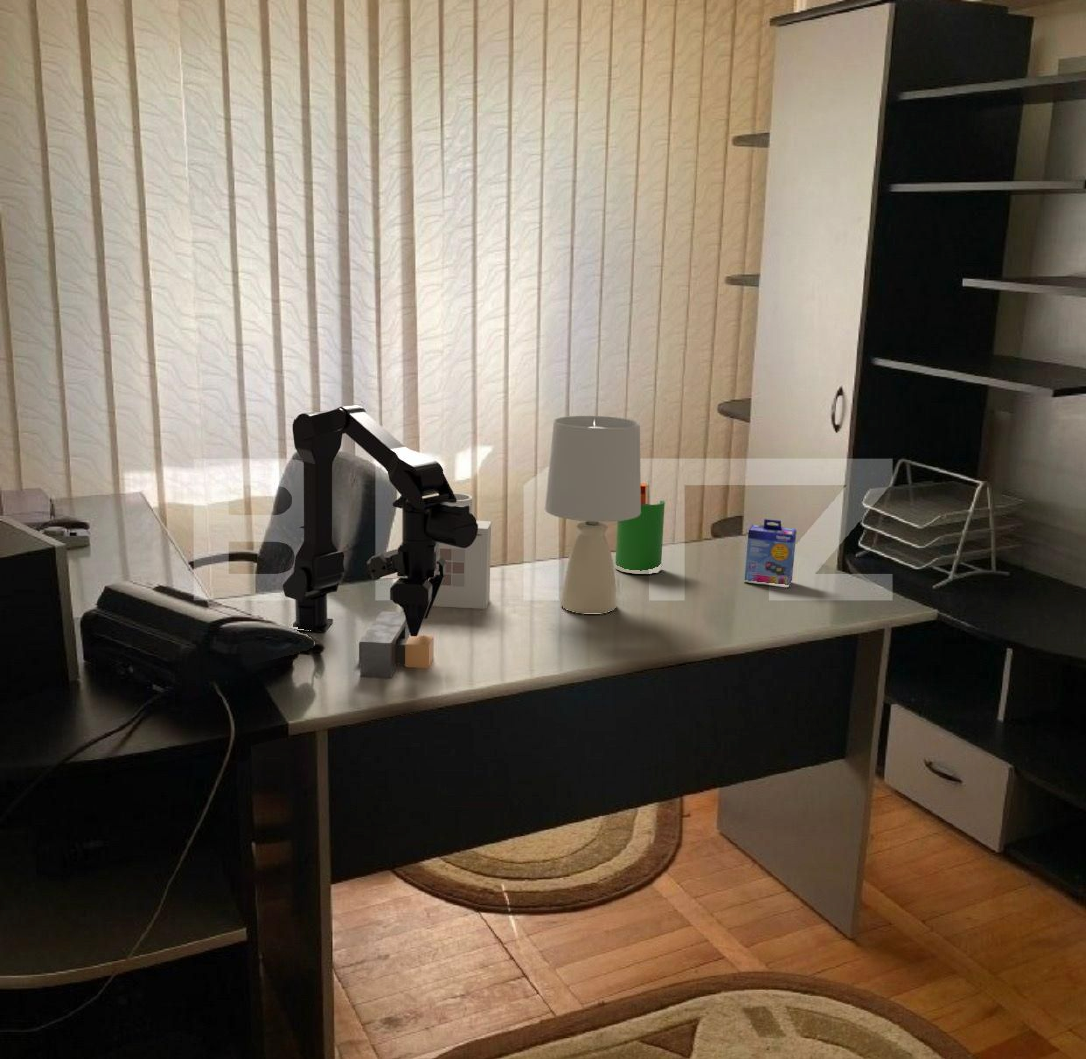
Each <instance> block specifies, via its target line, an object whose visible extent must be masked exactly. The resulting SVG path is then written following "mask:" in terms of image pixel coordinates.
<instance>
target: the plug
mask: <svg viewBox="0 0 1086 1059" xmlns="http://www.w3.org/2000/svg"><path fill="white" fill-rule="evenodd" d="M363 637H364V636H362V638H363ZM362 638H361V639H360V640H359V642H358V663H360V641H361V640H362ZM434 640H435V636H434V635H432V634H431V635H429V634H428V635H427V634H418V635H417V636H411V635H410V636H409V638H408V639H397V640H396V665H404V667H406V668H423V669H425V668H426V669H429V668H430V667H431V664H432V662H433V660H434V657H435V656H434V652H435V651H434V649H435V648H434V642H435V641H434Z"/></svg>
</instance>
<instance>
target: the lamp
mask: <svg viewBox="0 0 1086 1059" xmlns="http://www.w3.org/2000/svg"><path fill="white" fill-rule="evenodd" d="M552 425H553V426H552V435H551V436H552V437H551V444H550V455H549V464H548V466H549V467H548V473H547V474H548V476H547V485H546V495H545V506H544V510H545V512H547V513H548V514H549V515H551V516H554V517H557V518H562V519H566V520H570V521H571V520H572V521H579V523H578V524H577V525H576V529H577V530H578V532H579V533H578V536H577V538H576V540H575V541H574V544H573V545H572V548H571V552H570V555H569V557H568V561H567V565H566V569H565V575H564V579H563V585H562V588H561V590H562V591H561V597H560V606H561V607H562V606H563V607H564V608H565V609H568V610H570V611H574V612H578V613H605V612H608V611H611V610H613V609H615V608H616V609H617V607H618V606H617V604H618V598H617V585H616V577H615V567H614V561H613V556H612V552H611V548H610V545H609V543H608V541H607V539H606V535H605V533H606V532H607V530H608V525H607V524H605V523H612V522H618V521H623V520H629V519H633V518H636V517H638V516H639V515H640V514H641V484H642V483H641V424H640V423H639V421H637V420H633V419H629V418H624V417H623V418H622V417H615V416H604V415H603V416H601V415H569V416H562V417H557V418H554V420H553V424H552ZM603 522H604V523H603ZM564 608H563V609H564ZM565 609H564V610H565ZM616 609H615V610H616Z"/></svg>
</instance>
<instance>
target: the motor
mask: <svg viewBox="0 0 1086 1059" xmlns="http://www.w3.org/2000/svg"><path fill="white" fill-rule="evenodd" d="M646 501H647V483H641V514H640V515H639V516H638V517H636V518H633V519H629V520H623V521H616V522H617V524H616V526H617V527H616V542H615V544H616V545H615V546H616V548H615V564H616V565H617V566H620V567H622V568H624V569H629V570H640V571H642V570H648V569H653V568H655V567H658V566H659V565H660V564H661V565H662V556H663V554H662V553H663V543H664V542H663V540H664V539H663V538H664V521H665V506H666V505H665V504H666V501H665V500H660V502H659V503H656V504H650V503H647V502H646Z"/></svg>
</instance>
